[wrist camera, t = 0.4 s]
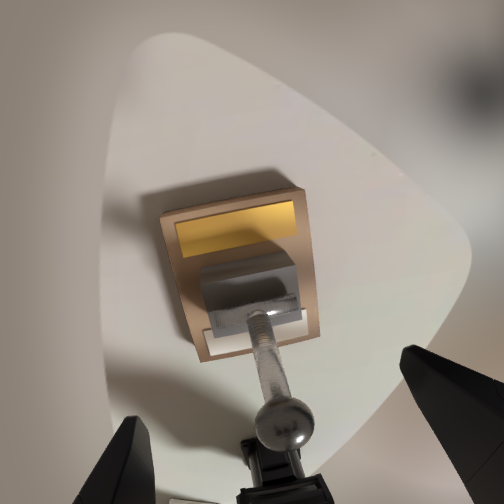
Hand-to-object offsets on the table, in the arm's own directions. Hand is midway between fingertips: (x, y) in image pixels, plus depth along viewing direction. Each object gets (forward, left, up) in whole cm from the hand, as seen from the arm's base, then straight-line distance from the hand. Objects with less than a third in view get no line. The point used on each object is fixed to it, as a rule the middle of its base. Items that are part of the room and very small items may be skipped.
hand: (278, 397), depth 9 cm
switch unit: (-2, 0, -16) cm, 16 cm away
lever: (-2, 0, -10) cm, 10 cm away
